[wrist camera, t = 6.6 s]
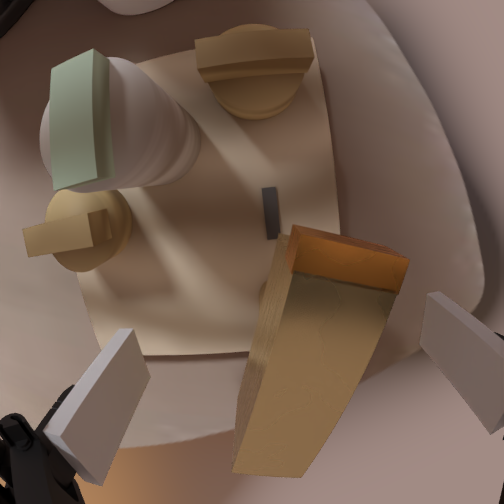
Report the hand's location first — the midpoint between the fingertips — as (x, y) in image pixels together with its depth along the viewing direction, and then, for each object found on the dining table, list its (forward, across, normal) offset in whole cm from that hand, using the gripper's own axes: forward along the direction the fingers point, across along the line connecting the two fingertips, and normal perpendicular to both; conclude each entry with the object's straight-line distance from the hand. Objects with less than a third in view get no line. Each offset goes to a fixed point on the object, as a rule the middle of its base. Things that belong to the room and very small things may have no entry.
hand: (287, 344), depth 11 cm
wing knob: (+6, 0, 0) cm, 6 cm away
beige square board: (+8, -5, +6) cm, 11 cm away
